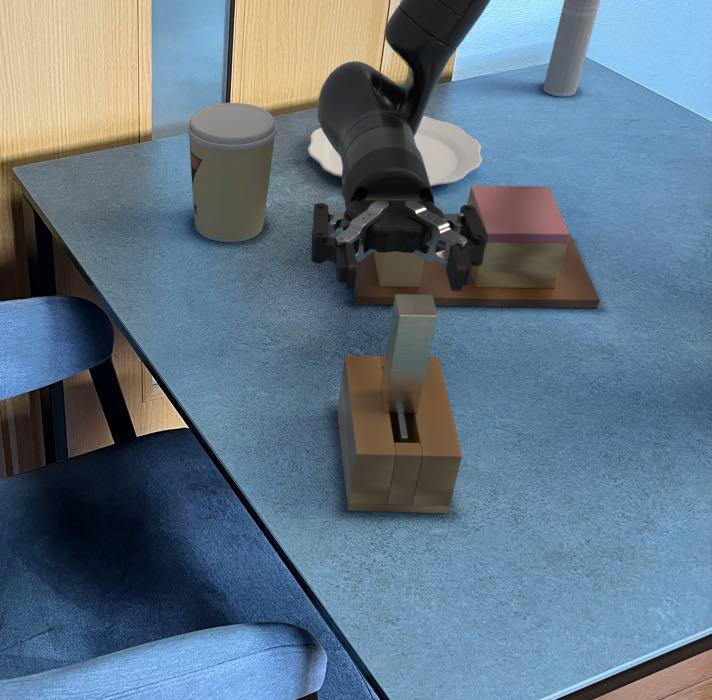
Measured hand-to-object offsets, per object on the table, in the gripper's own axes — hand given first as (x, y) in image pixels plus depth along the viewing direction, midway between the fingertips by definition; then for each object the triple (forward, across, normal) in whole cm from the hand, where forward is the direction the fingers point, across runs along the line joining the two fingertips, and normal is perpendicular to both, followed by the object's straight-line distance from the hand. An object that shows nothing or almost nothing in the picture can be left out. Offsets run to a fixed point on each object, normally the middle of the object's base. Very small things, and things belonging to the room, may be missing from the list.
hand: (405, 280), depth 82 cm
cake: (-25, +12, +14) cm, 31 cm away
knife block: (+6, 0, +14) cm, 15 cm away
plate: (-51, +6, +14) cm, 53 cm away
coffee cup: (-34, -14, +14) cm, 39 cm away
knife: (+6, 0, +12) cm, 14 cm away
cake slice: (-25, +4, +12) cm, 28 cm away
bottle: (-73, +31, +14) cm, 80 cm away
